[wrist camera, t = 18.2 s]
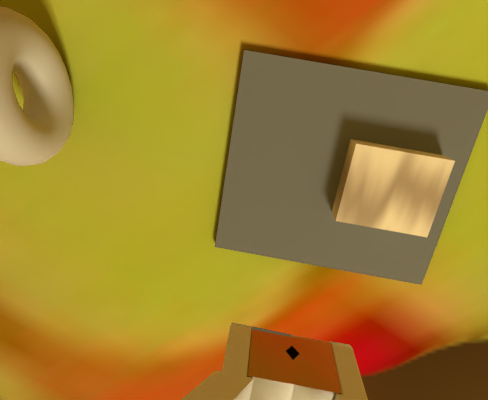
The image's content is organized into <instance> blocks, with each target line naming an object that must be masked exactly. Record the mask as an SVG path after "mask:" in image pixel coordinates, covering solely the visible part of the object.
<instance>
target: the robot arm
mask: <svg viewBox="0 0 488 400" xmlns="http://www.w3.org/2000/svg"><path fill="white" fill-rule="evenodd" d="M182 400H368V399H367V396H366V392H365V389H364V385H363V382H362V379H361V375H360V372H359V368H358V365H357V362H356V358H355V355H354V351H353V348H352V347H351V346H350V345H349V344H343V343H336V342H327V341H321V340H316V339H310V338H305V337H299V336H294V335H290V334H285V333H280V332H276V331H271V330H266V329H262V328H257V327H252V328H251V326H246V325H241V324H236V323H231V326H230V331H229V337H228V342H227V348H226V353H225V359H224V364H223V370H222V372H220V371H215V372H214V373H213V374H211V375H210V376H209V377H208V378H207V379H206V380H204V381H203V382H202V383H201V384H200V385H198V386H197V387H196V388H195V389H194V390H192V391H191V392H190V393H189V394H188V395H186V396H185V397H184V398H183V399H182Z"/></svg>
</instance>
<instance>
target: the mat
mask: <svg viewBox="0 0 488 400" xmlns="http://www.w3.org/2000/svg"><path fill="white" fill-rule="evenodd" d="M487 110H488V91H485V90H480V89H474V88H468V87H462V86H456V85H450V84H444V83H438V82H432V81H426V80H420V79H414V78H408V77H402V76H396V75H390V74H385V73H379V72H373V71H367V70H361V69H355V68H349V67H343V66H337V65H331V64H325V63H319V62H313V61H307V60H301V59H295V58H290V57H284V56H278V55H272V54H266V53H260V52H254V51H248V50H244V53H243V60H242V67H241V74H240V80H239V87H238V94H237V101H236V107H235V114H234V121H233V128H232V134H231V141H230V148H229V155H228V161H227V168H226V175H225V182H224V188H223V195H222V202H221V209H220V215H219V222H218V229H217V236H216V242H215V247H219V248H224V249H230V250H235V251H241V252H246V253H252V254H257V255H262V256H268V257H273V258H279V259H284V260H290V261H295V262H301V263H306V264H312V265H317V266H322V267H328V268H333V269H339V270H344V271H350V272H355V273H361V274H366V275H371V276H377V277H382V278H388V279H393V280H399V281H404V282H410V283H415V284H421V285H422V282H423V279H424V277H425V274H426V271H427V269H428V266H429V263H430V261H431V258H432V255H433V253H434V250H435V247H436V245H437V242H438V239H439V237H440V234H441V232H442V229H443V226H444V224H445V221H446V218H447V216H448V213H449V210H450V208H451V205H452V202H453V200H454V197H455V194H456V192H457V189H458V186H459V184H460V181H461V179H462V176H463V173H464V171H465V168H466V165H467V163H468V160H469V157H470V155H471V152H472V149H473V147H474V144H475V141H476V139H477V136H478V133H479V131H480V128H481V126H482V123H483V120H484V118H485V115H486V112H487ZM351 139H353V140H358V141H364V142H370V143H376V144H381V145H387V146H393V147H399V148H404V149H410V150H416V151H422V152H428V153H433V154H439V155H443V156H446V157H448V158H450V159H452V160H454V161H455V163H454V165H453V168H452V171H451V173H450V176H449V179H448V182H447V184H446V187H445V190H444V193H443V195H442V198H441V201H440V204H439V206H438V209H437V212H436V215H435V217H434V220H433V223H432V226H431V228H430V231H429V234H428V237H422V236H416V235H411V234H405V233H400V232H394V231H389V230H383V229H378V228H372V227H366V226H361V225H355V224H350V223H344V222H339V221H335V218H334V216H333V214H332V209H333V205H334V201H335V197H336V193H337V190H338V186H339V182H340V178H341V174H342V170H343V167H344V163H345V159H346V155H347V151H348V147H349V143H350V140H351Z"/></svg>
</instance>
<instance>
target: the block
mask: <svg viewBox="0 0 488 400" xmlns="http://www.w3.org/2000/svg"><path fill="white" fill-rule="evenodd" d="M454 163H455V161H454V160H452V159H450V158H448V157H446V156H443V155H439V154H433V153H428V152H422V151H416V150H410V149H404V148H399V147H393V146H387V145H381V144H376V143H370V142H364V141H358V140H353V139H351V140H350V143H349V147H348V151H347V155H346V159H345V163H344V167H343V170H342V174H341V178H340V182H339V186H338V190H337V193H336V197H335V201H334V205H333V209H332V214H333V216H334V218H335V221H339V222H344V223H350V224H355V225H361V226H366V227H372V228H378V229H383V230H389V231H394V232H400V233H405V234H411V235H416V236H422V237H428V234H429V231H430V228H431V226H432V223H433V220H434V217H435V215H436V212H437V209H438V206H439V204H440V201H441V198H442V195H443V193H444V190H445V187H446V184H447V182H448V179H449V176H450V173H451V171H452V168H453V165H454Z"/></svg>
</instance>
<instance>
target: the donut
mask: <svg viewBox="0 0 488 400" xmlns="http://www.w3.org/2000/svg"><path fill="white" fill-rule="evenodd" d="M13 71H14V72H15V74H16V76H17V78H18V80H19V82H20V85H21V88H22V91H23V99H24V106H23V110H22V108H21V107H20V105H19V103H18V101H17V98H16V95H15V92H14V88H13V81H12V72H13ZM73 116H74V101H73V93H72V86H71V83H70V79H69V76H68V72H67V69H66V67H65V64H64V62H63V60H62V58H61V55H60V53H59V51H58V50H57V48H56V47H55V45H54V44H53V42H52V41H51V39H50V38H49V36H48V35H47V34H46V33H45V32H44V31H43V30H41V29H40V28H39V27H38V26H37V25H36V24H35V23H34V22H33V21H32V20H31V19H30V18H28V17H26V16H24V15H22V14H20V13H18V12H16V11H14V10H12V9H10V8H7V7H2V6H0V161H3V162H6V163H9V164H12V165H17V166H26V165H36V164H41V163H44V162H46V161H47V160H49V159H50V158H52V157H53V156H55V155H56V154H57V153H59V152H60V150H61V149H62V147H63V146H64V144H65V143H66V141H67V139H68V138H69V136H70V132H71V128H72V125H73Z"/></svg>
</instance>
